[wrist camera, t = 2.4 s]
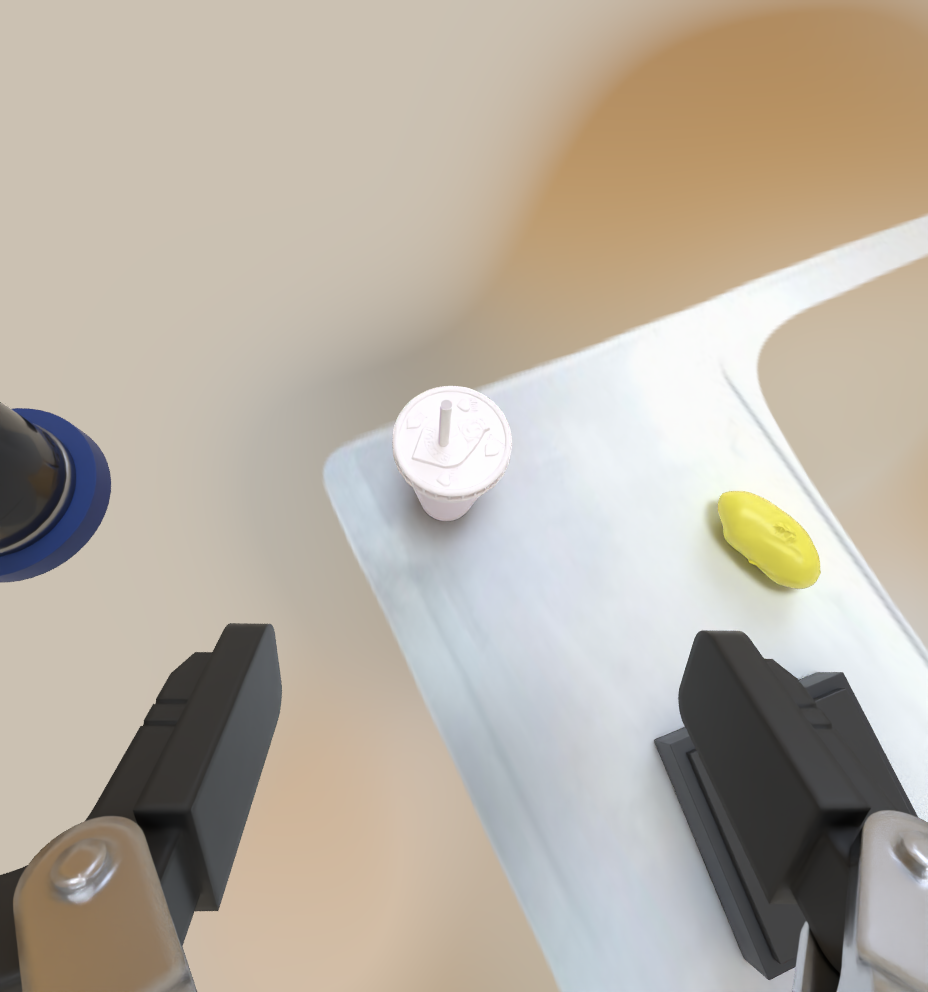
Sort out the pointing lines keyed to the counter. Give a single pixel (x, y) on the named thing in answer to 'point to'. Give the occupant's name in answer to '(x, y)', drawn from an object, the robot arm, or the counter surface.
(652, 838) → the counter surface
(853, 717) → the scale
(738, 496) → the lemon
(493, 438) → the smoothie
